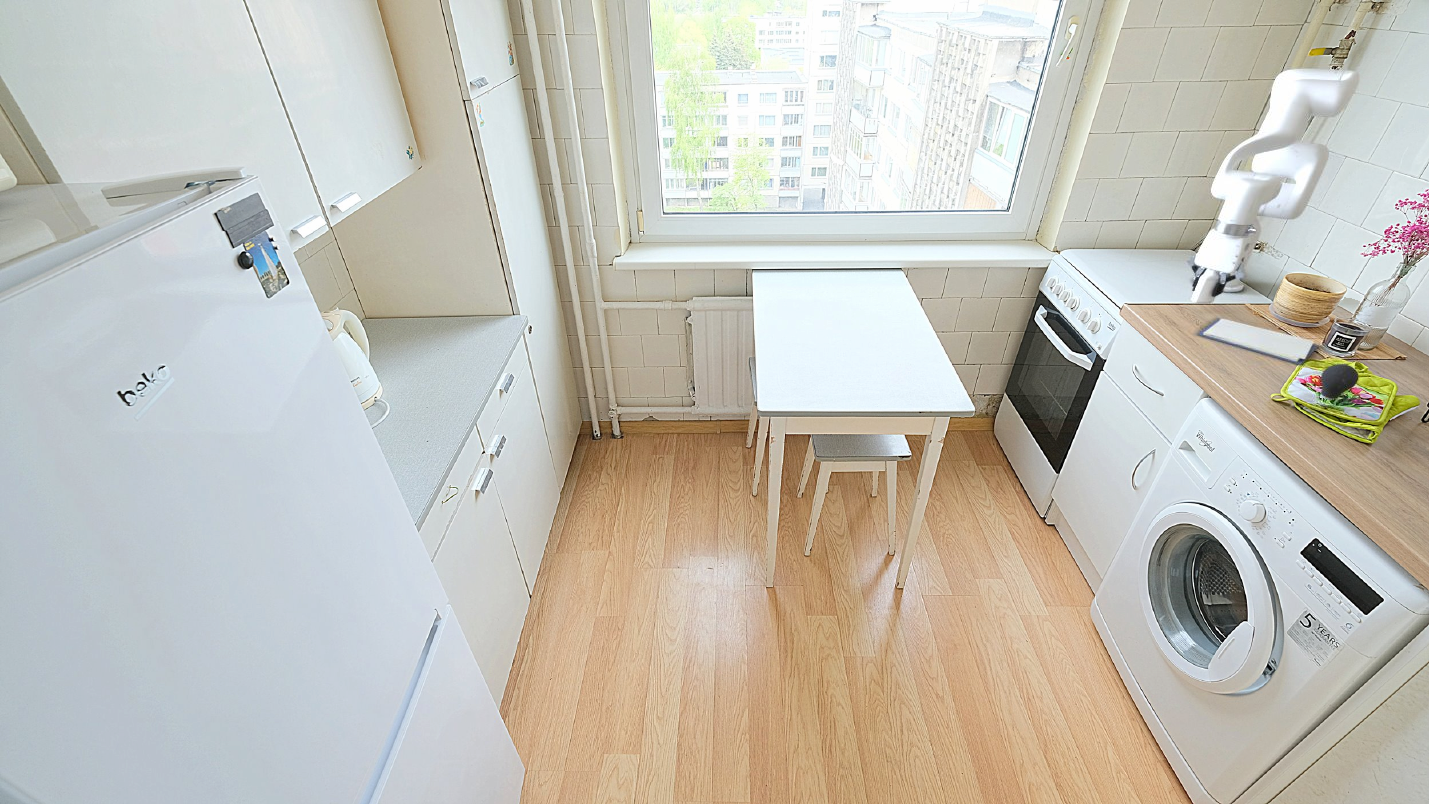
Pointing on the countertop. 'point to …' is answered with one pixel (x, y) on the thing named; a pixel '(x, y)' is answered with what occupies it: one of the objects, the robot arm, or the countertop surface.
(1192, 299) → the eye dropper bottle
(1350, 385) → the light bulb
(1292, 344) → the grey flat slab
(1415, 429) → the countertop surface
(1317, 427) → the countertop surface
